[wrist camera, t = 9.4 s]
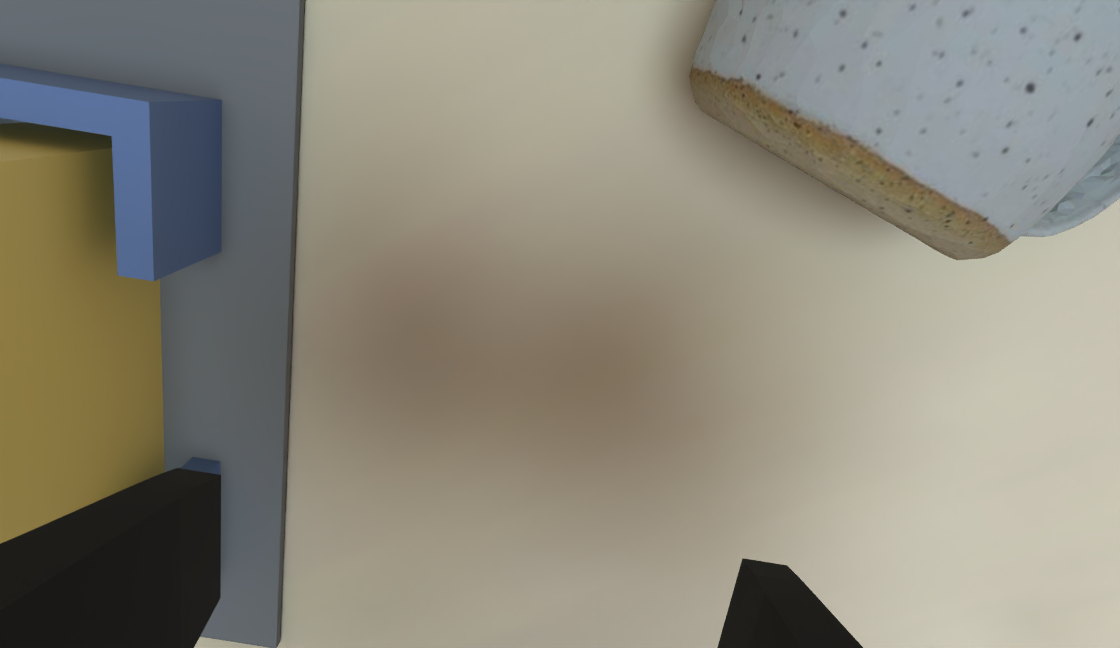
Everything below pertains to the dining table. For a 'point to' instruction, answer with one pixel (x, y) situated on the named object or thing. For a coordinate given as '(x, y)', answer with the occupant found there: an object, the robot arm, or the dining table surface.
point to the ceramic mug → (930, 107)
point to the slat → (70, 334)
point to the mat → (227, 277)
